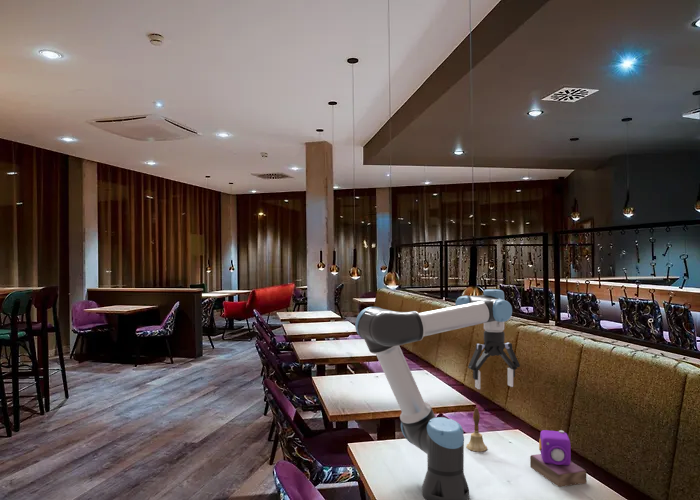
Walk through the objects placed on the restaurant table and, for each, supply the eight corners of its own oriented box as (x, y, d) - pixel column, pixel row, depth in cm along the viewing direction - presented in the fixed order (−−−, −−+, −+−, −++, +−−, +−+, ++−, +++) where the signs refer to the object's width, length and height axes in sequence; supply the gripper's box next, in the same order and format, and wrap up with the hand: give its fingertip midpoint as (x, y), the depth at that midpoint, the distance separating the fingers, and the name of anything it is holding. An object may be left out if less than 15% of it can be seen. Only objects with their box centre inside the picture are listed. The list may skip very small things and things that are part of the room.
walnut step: (558, 486, 165) (558, 473, 165) (530, 466, 181) (530, 454, 181) (586, 483, 168) (586, 470, 168) (556, 463, 183) (556, 452, 183)
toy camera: (546, 470, 168) (546, 441, 168) (535, 454, 181) (534, 427, 182) (579, 471, 167) (578, 442, 167) (565, 455, 180) (564, 428, 181)
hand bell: (462, 446, 200) (461, 407, 200) (477, 442, 204) (477, 404, 204) (476, 453, 193) (476, 413, 193) (491, 449, 197) (491, 409, 197)
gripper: (468, 333, 178) (468, 391, 177) (529, 330, 183) (529, 387, 183) (459, 330, 185) (459, 386, 185) (518, 328, 191) (518, 382, 190)
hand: (494, 387), depth 184 cm, fingers open, 13 cm apart
